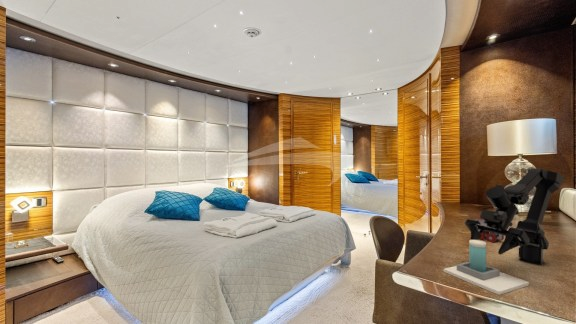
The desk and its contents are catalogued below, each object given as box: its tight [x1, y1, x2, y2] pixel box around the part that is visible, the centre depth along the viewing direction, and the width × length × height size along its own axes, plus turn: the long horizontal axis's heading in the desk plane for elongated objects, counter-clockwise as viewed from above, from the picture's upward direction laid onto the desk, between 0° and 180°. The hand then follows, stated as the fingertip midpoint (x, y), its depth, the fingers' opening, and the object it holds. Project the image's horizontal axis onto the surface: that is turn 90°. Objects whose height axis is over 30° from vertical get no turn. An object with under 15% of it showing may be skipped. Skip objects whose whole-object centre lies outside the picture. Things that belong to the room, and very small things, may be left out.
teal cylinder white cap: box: [468, 239, 487, 273], centre depth 92 cm, size 5×5×11 cm
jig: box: [443, 261, 530, 296], centre depth 90 cm, size 16×18×3 cm
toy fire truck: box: [474, 217, 505, 243], centre depth 133 cm, size 7×12×10 cm, turn 30°
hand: (484, 249), depth 93 cm, fingers open, 9 cm apart
